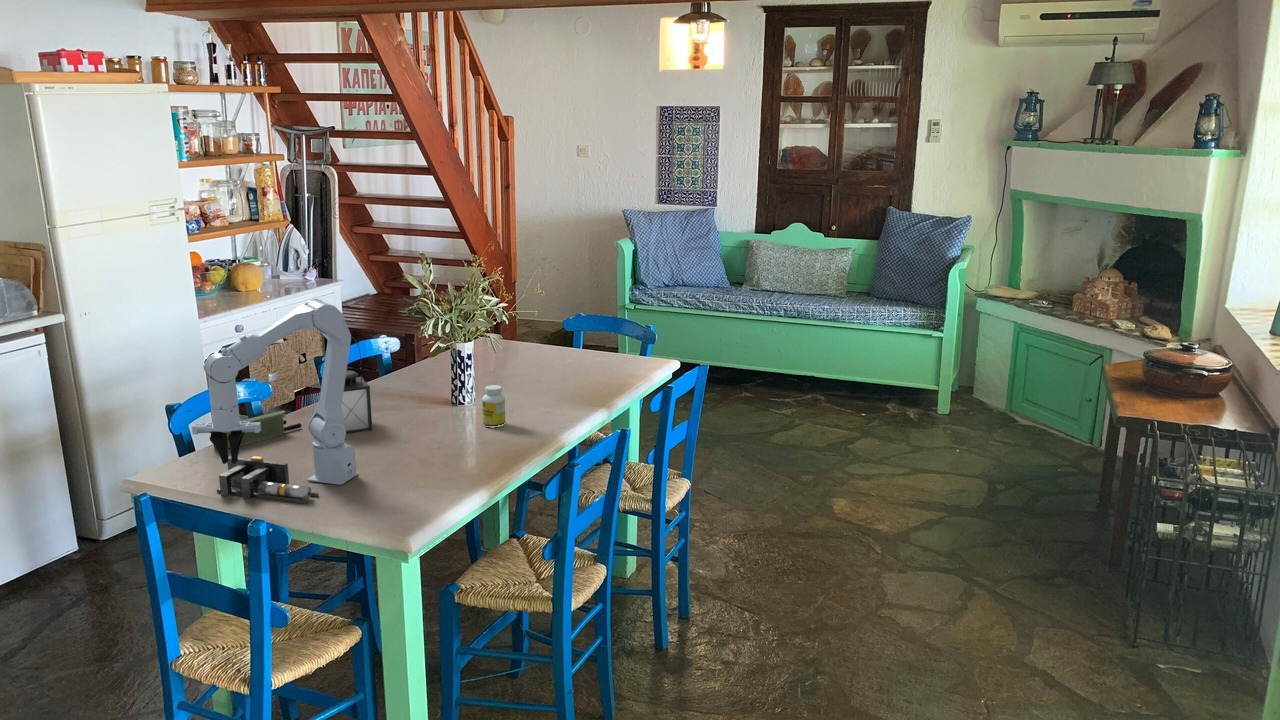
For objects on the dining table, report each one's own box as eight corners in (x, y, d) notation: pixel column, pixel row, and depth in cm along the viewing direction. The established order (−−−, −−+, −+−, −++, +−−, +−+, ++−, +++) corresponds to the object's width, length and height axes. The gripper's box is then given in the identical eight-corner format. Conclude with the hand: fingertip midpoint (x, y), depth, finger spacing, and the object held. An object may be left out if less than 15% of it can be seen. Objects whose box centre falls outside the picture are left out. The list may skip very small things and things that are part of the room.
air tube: (312, 495, 221) (309, 484, 219) (304, 503, 218) (301, 492, 217) (268, 489, 224) (264, 478, 222) (260, 497, 221) (256, 486, 219)
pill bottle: (480, 423, 276) (478, 385, 273) (501, 420, 279) (500, 383, 276) (487, 430, 270) (486, 391, 267) (508, 427, 273) (507, 388, 270)
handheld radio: (212, 450, 252) (297, 427, 271) (218, 453, 250) (304, 430, 269) (210, 426, 250) (296, 405, 269) (217, 429, 248) (302, 408, 267)
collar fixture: (326, 491, 224) (324, 464, 223) (303, 506, 216) (300, 478, 214) (232, 479, 231) (230, 453, 229) (206, 493, 222) (203, 466, 220)
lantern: (372, 430, 269) (367, 334, 262) (332, 436, 264) (325, 338, 257) (364, 420, 278) (359, 327, 271) (325, 424, 273) (319, 330, 267)
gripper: (262, 400, 219) (267, 455, 222) (196, 401, 217) (202, 457, 220) (254, 409, 212) (259, 465, 215) (186, 410, 210) (192, 467, 214)
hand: (230, 462), depth 217 cm, fingers closed
